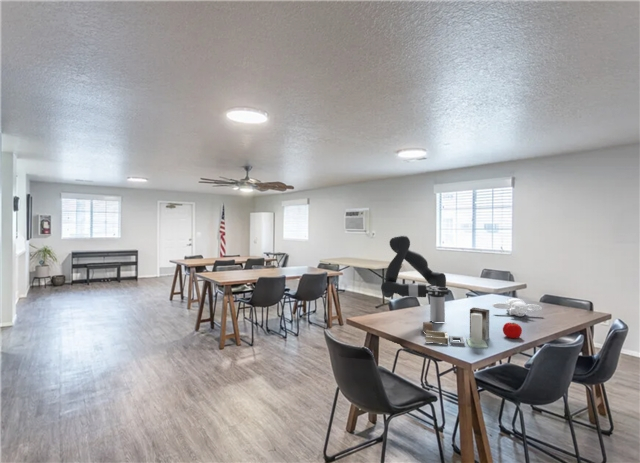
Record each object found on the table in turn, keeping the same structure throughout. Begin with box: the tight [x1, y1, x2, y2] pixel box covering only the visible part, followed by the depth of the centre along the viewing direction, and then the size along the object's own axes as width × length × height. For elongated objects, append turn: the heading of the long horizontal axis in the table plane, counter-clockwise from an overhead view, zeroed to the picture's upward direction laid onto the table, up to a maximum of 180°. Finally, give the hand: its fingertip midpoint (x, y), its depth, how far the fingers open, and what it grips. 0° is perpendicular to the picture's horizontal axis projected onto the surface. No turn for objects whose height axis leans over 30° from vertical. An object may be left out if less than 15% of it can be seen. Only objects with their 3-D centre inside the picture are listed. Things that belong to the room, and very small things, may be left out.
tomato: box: [502, 322, 523, 339], centre depth 198 cm, size 9×10×8 cm
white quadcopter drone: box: [492, 297, 543, 317], centre depth 253 cm, size 24×30×11 cm
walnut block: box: [422, 321, 434, 333], centre depth 207 cm, size 4×4×6 cm
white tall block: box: [470, 313, 482, 344], centre depth 186 cm, size 6×6×15 cm
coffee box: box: [469, 307, 490, 341], centre depth 197 cm, size 9×6×16 cm
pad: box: [466, 338, 489, 349], centre depth 186 cm, size 12×9×1 cm
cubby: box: [425, 330, 449, 345], centre depth 192 cm, size 12×11×4 cm
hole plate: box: [448, 335, 466, 347], centre depth 189 cm, size 12×7×2 cm, turn 163°
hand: (448, 291), depth 190 cm, fingers open, 8 cm apart
